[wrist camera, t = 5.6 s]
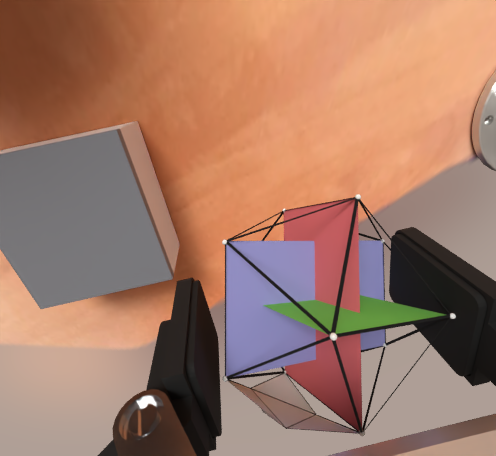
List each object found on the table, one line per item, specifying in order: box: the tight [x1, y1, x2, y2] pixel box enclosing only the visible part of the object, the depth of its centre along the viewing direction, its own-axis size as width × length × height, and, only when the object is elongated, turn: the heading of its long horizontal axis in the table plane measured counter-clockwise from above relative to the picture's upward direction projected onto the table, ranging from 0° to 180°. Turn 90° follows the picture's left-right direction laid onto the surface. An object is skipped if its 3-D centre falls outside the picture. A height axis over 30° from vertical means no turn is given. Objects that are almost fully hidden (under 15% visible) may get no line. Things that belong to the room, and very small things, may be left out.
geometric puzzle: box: [222, 194, 456, 436], centre depth 10 cm, size 7×7×8 cm
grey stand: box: [0, 121, 180, 309], centre depth 24 cm, size 11×12×6 cm
